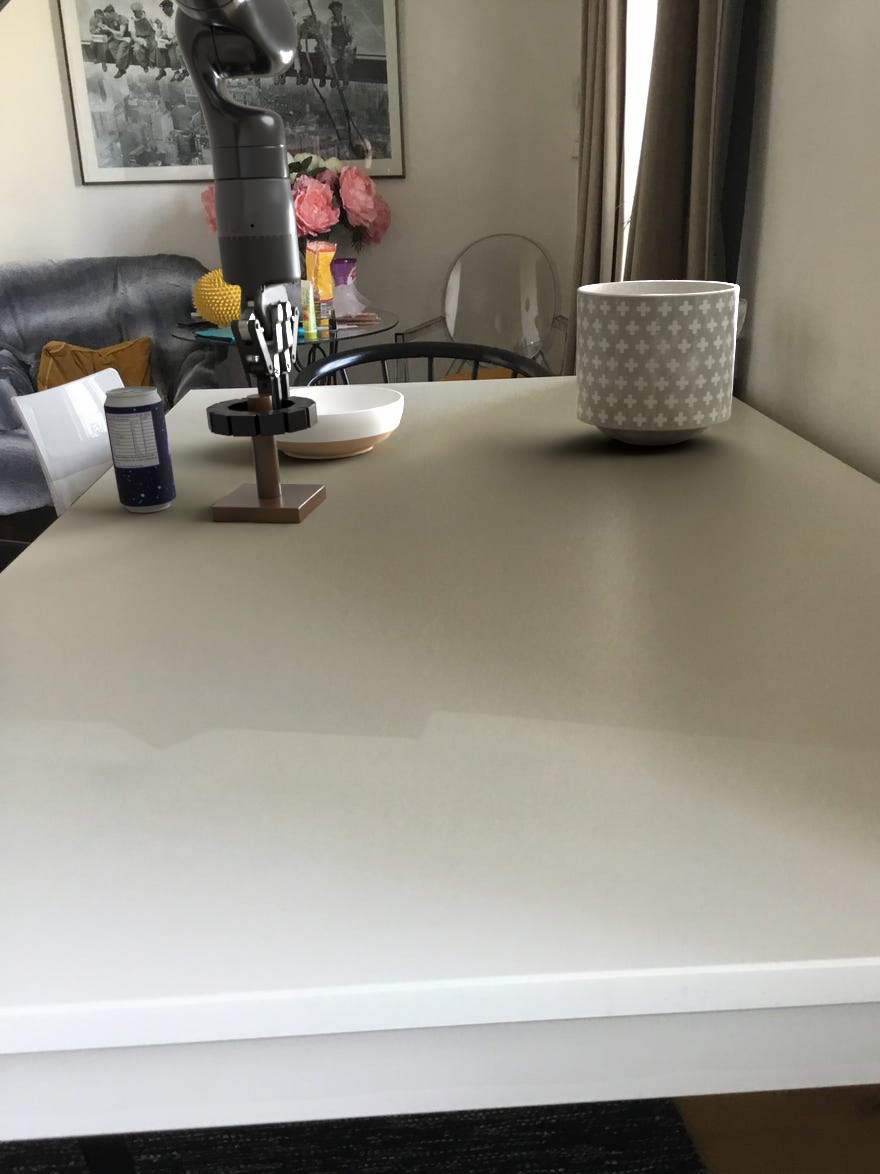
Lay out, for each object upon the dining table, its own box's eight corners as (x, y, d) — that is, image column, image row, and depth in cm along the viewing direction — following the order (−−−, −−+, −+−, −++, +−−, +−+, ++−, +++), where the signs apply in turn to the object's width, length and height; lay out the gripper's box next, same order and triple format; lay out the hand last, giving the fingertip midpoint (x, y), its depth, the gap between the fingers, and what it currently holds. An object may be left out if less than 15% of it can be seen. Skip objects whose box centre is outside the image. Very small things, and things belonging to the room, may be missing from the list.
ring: (192, 436, 100) (189, 415, 99) (233, 414, 110) (230, 395, 109) (297, 437, 99) (295, 415, 98) (329, 415, 108) (327, 395, 107)
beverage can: (188, 505, 110) (171, 389, 105) (139, 518, 106) (119, 397, 101) (159, 496, 113) (142, 383, 108) (110, 508, 109) (90, 391, 105)
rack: (212, 521, 104) (197, 404, 100) (245, 496, 112) (232, 387, 108) (300, 523, 103) (288, 404, 98) (326, 498, 111) (316, 387, 106)
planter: (736, 456, 122) (747, 293, 115) (572, 456, 125) (573, 296, 118) (721, 423, 140) (731, 279, 133) (578, 423, 142) (579, 281, 135)
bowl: (426, 434, 138) (423, 387, 136) (374, 470, 121) (370, 417, 119) (289, 430, 143) (285, 384, 141) (221, 464, 126) (214, 413, 124)
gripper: (270, 233, 94) (289, 426, 101) (316, 227, 107) (331, 399, 113) (191, 235, 95) (215, 426, 102) (245, 229, 108) (264, 399, 115)
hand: (276, 411), depth 108 cm, fingers closed on ring, 2 cm apart
